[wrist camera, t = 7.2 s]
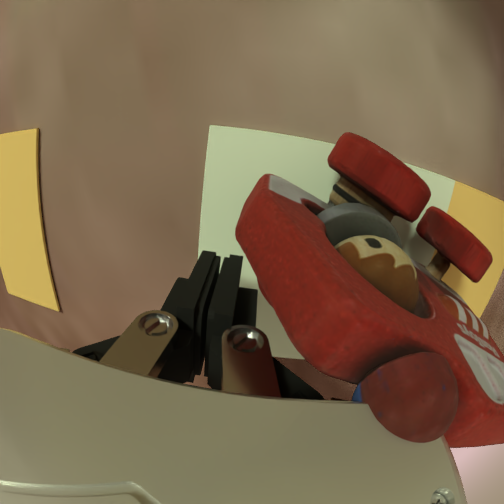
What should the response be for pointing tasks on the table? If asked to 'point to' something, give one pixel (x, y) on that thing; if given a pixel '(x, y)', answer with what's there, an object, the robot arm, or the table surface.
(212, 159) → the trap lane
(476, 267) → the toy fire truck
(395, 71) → the table surface
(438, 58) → the table surface
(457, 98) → the table surface
